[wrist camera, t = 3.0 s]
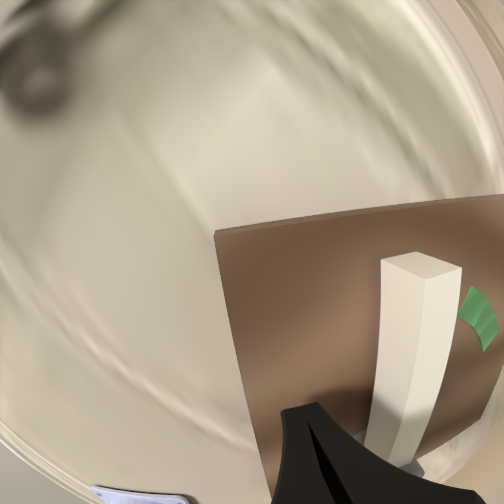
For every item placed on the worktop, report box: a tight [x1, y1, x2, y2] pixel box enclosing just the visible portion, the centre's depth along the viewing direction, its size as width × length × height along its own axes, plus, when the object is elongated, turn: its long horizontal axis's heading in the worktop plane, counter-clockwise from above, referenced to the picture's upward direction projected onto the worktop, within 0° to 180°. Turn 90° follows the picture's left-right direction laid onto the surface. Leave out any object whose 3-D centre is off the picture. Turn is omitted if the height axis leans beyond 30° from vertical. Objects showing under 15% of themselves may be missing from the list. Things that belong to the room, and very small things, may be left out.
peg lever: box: [363, 252, 462, 478], centre depth 8 cm, size 13×4×3 cm, turn 8°
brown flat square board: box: [214, 194, 504, 499], centre depth 11 cm, size 18×18×2 cm
